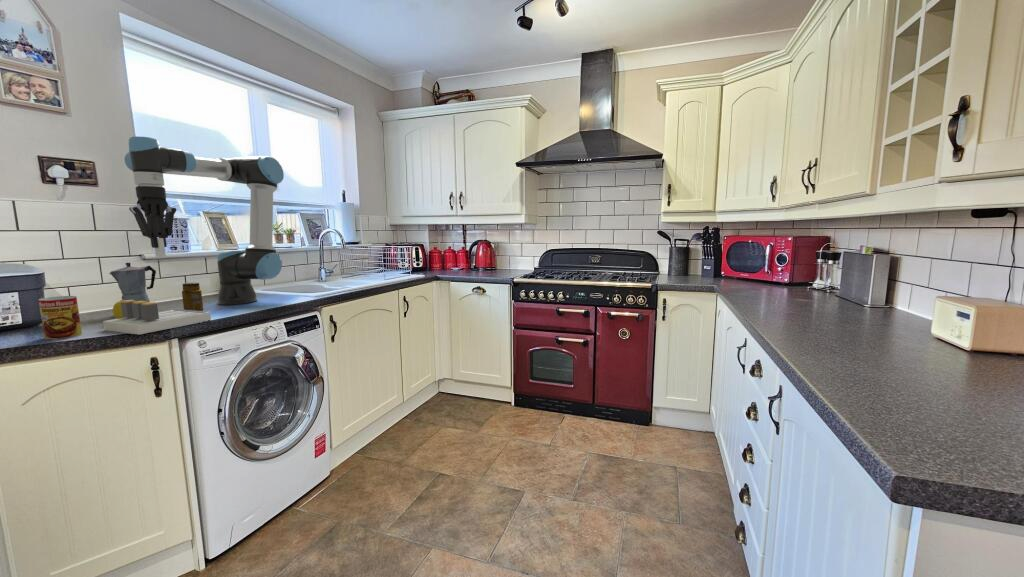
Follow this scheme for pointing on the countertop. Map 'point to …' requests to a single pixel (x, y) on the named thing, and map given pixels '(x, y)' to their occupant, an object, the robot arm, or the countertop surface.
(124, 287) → the moka pot
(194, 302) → the condiment
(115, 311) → the lemon
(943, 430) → the countertop surface
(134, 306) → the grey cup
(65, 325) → the canned food
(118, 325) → the panel
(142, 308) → the grey block
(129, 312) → the knob far
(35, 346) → the countertop surface
